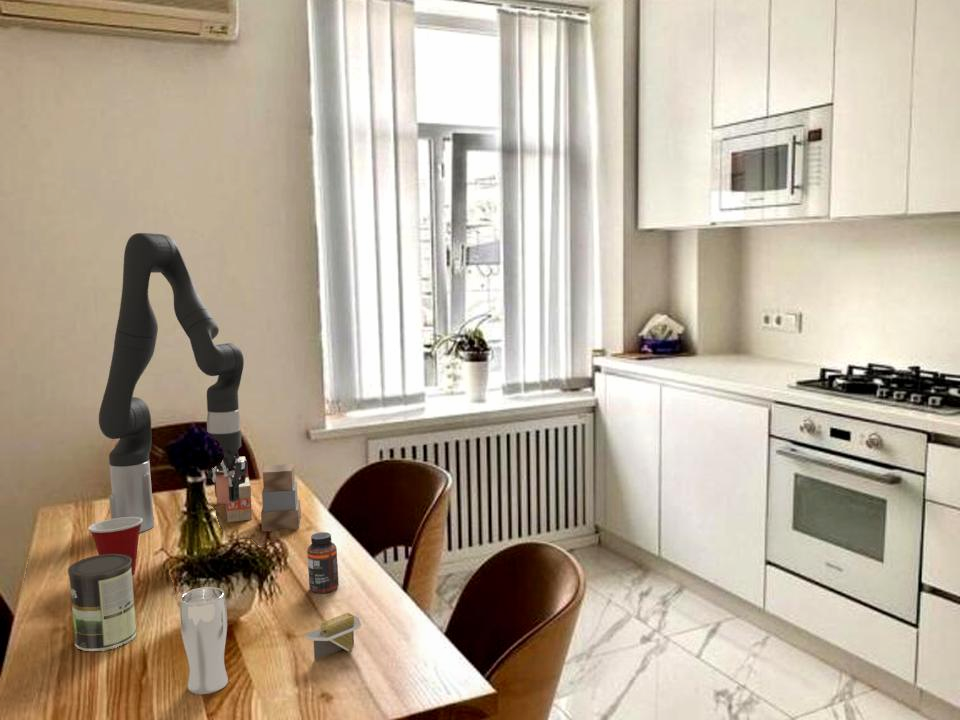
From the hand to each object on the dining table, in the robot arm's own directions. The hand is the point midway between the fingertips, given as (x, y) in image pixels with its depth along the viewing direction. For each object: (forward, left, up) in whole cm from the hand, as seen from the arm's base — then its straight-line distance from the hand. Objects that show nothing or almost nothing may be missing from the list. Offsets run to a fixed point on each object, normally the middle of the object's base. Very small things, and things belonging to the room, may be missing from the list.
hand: (227, 498), depth 193 cm
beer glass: (+6, -67, -11) cm, 68 cm away
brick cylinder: (0, 0, 0) cm, 0 cm away
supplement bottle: (+23, -32, -11) cm, 41 cm away
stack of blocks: (-2, +27, -11) cm, 29 cm away
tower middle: (+11, +11, -6) cm, 17 cm away
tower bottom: (+11, +11, -11) cm, 19 cm away
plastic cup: (-21, -16, -11) cm, 28 cm away
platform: (+27, -61, -12) cm, 67 cm away
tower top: (+11, +11, -1) cm, 16 cm away
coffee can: (-15, -47, -11) cm, 51 cm away
